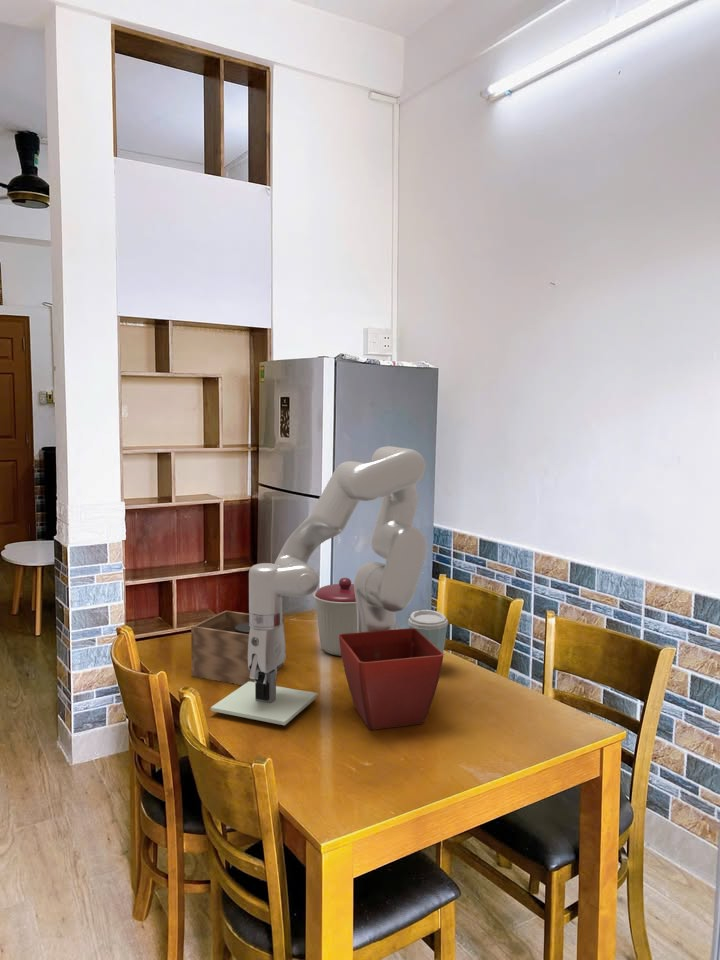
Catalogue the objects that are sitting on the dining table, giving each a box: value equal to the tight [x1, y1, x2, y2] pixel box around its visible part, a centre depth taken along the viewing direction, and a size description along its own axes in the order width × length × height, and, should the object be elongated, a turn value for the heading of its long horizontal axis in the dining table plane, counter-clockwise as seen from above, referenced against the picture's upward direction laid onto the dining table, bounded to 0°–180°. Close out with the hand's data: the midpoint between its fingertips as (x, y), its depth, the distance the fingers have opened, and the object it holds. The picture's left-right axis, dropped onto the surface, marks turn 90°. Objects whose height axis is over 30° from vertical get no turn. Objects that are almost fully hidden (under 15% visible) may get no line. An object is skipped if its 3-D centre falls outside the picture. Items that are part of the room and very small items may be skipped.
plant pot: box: [339, 627, 445, 730], centre depth 162 cm, size 19×19×17 cm
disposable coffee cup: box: [407, 609, 449, 654], centre depth 191 cm, size 11×11×15 cm
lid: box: [210, 670, 319, 726], centre depth 165 cm, size 19×17×8 cm
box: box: [190, 610, 285, 686], centre depth 188 cm, size 18×16×13 cm
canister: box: [312, 577, 357, 657], centre depth 205 cm, size 18×18×21 cm
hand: (265, 696), depth 166 cm, fingers closed on lid, 2 cm apart
